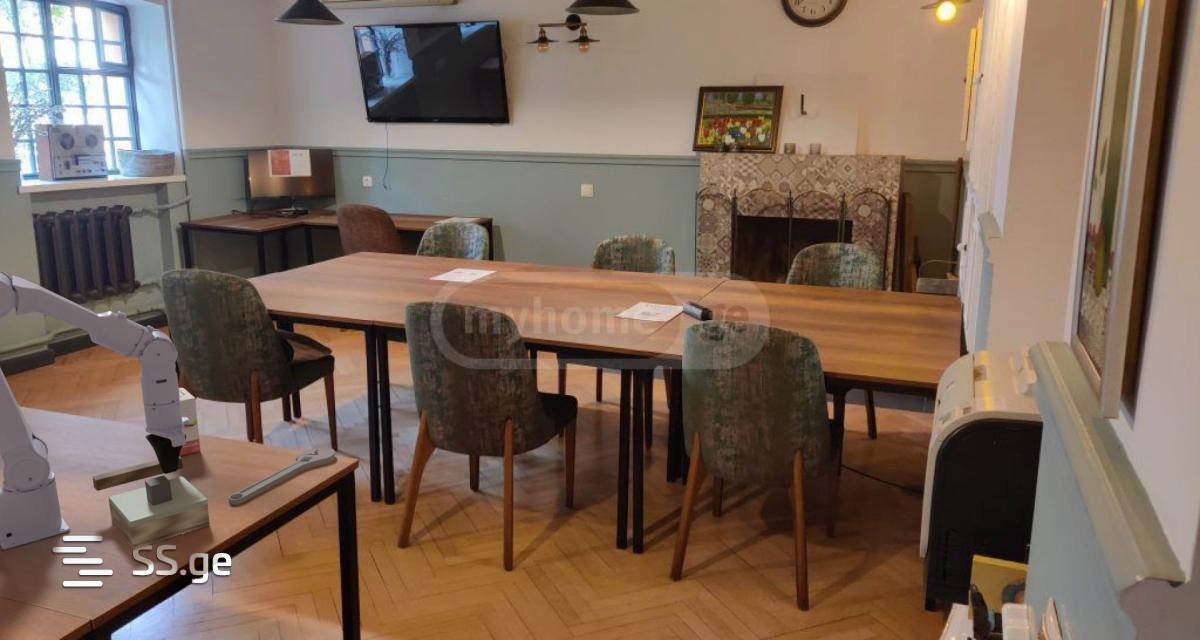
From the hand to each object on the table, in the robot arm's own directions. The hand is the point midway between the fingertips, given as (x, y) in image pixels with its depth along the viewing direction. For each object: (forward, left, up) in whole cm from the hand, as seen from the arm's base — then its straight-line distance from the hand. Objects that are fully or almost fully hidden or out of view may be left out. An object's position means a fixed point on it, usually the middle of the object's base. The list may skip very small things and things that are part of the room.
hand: (170, 471), depth 155 cm
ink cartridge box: (+10, +24, -6) cm, 26 cm away
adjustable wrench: (+19, -3, -6) cm, 20 cm away
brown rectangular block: (-4, +2, 0) cm, 5 cm away
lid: (-4, -8, -3) cm, 9 cm away
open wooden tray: (-4, -7, -6) cm, 10 cm away
